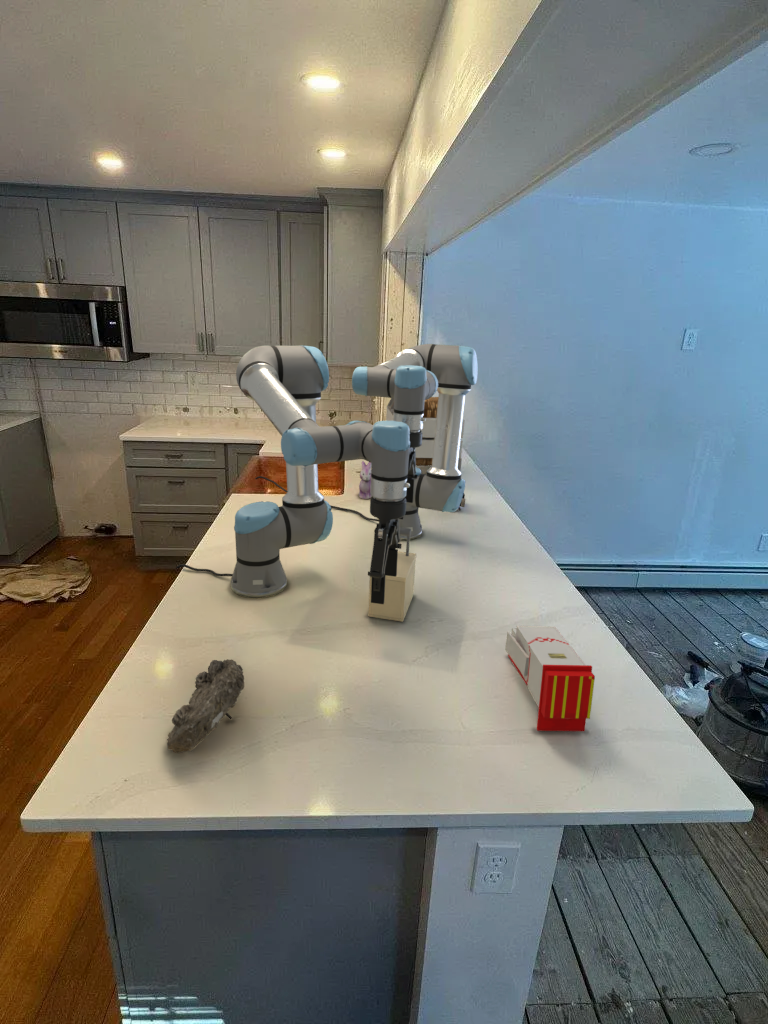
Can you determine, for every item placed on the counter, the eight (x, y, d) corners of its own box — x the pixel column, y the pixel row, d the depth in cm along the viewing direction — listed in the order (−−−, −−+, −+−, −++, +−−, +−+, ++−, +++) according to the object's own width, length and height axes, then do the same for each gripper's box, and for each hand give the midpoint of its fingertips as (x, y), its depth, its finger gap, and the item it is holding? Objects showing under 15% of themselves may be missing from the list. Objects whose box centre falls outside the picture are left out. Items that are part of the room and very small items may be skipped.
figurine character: (465, 515, 224) (460, 499, 237) (467, 498, 221) (462, 483, 234) (448, 515, 224) (444, 499, 237) (450, 498, 220) (445, 482, 234)
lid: (383, 553, 156) (385, 522, 153) (416, 557, 154) (418, 526, 151) (369, 577, 142) (371, 544, 139) (405, 582, 140) (407, 548, 137)
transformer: (382, 463, 289) (386, 382, 275) (445, 464, 293) (451, 384, 279) (390, 482, 257) (394, 392, 243) (460, 483, 261) (468, 394, 247)
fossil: (192, 660, 117) (244, 628, 112) (224, 691, 120) (276, 661, 115) (142, 746, 98) (202, 712, 93) (182, 779, 101) (242, 748, 96)
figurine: (363, 500, 232) (364, 465, 227) (352, 493, 240) (353, 459, 235) (383, 498, 236) (385, 463, 231) (372, 491, 244) (373, 457, 239)
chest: (381, 591, 159) (382, 554, 155) (413, 595, 157) (415, 559, 154) (368, 616, 146) (369, 577, 142) (403, 621, 144) (405, 582, 140)
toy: (551, 610, 133) (604, 672, 104) (546, 663, 136) (596, 738, 106) (500, 609, 132) (538, 671, 103) (496, 662, 135) (532, 737, 106)
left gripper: (394, 518, 106) (389, 618, 113) (415, 482, 129) (410, 567, 136) (355, 514, 107) (353, 613, 114) (383, 479, 130) (380, 563, 137)
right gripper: (413, 441, 129) (408, 527, 136) (429, 422, 152) (424, 497, 159) (381, 438, 131) (378, 524, 138) (402, 419, 154) (398, 494, 161)
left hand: (384, 588), depth 125 cm, fingers open, 13 cm apart
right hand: (403, 509), depth 149 cm, fingers open, 13 cm apart
